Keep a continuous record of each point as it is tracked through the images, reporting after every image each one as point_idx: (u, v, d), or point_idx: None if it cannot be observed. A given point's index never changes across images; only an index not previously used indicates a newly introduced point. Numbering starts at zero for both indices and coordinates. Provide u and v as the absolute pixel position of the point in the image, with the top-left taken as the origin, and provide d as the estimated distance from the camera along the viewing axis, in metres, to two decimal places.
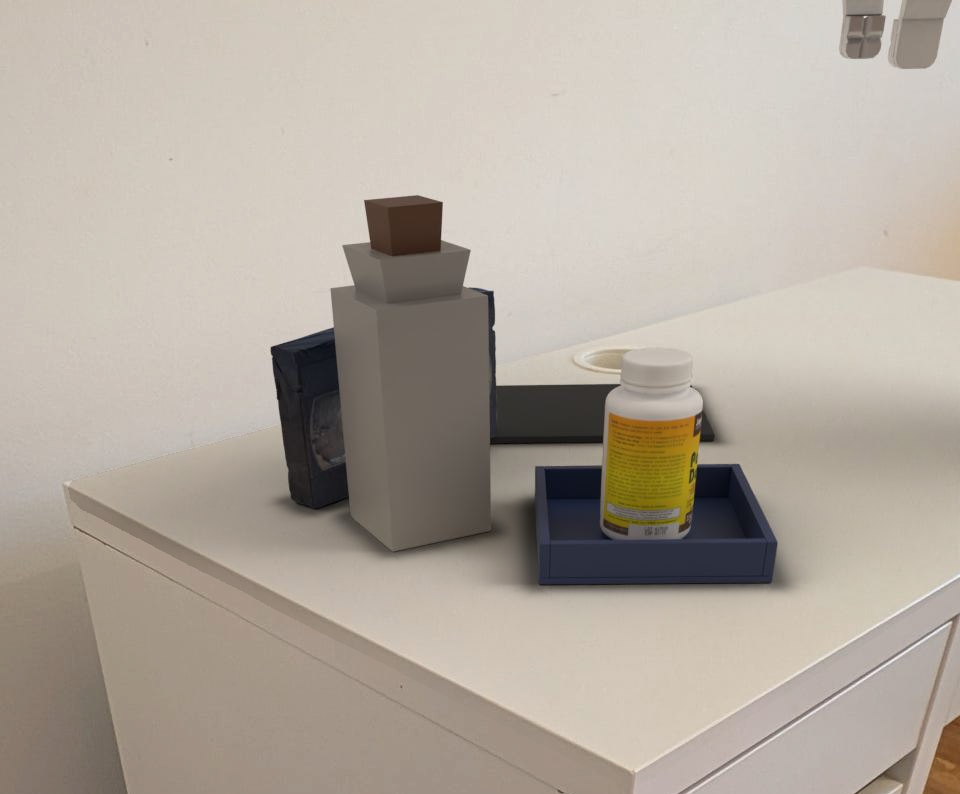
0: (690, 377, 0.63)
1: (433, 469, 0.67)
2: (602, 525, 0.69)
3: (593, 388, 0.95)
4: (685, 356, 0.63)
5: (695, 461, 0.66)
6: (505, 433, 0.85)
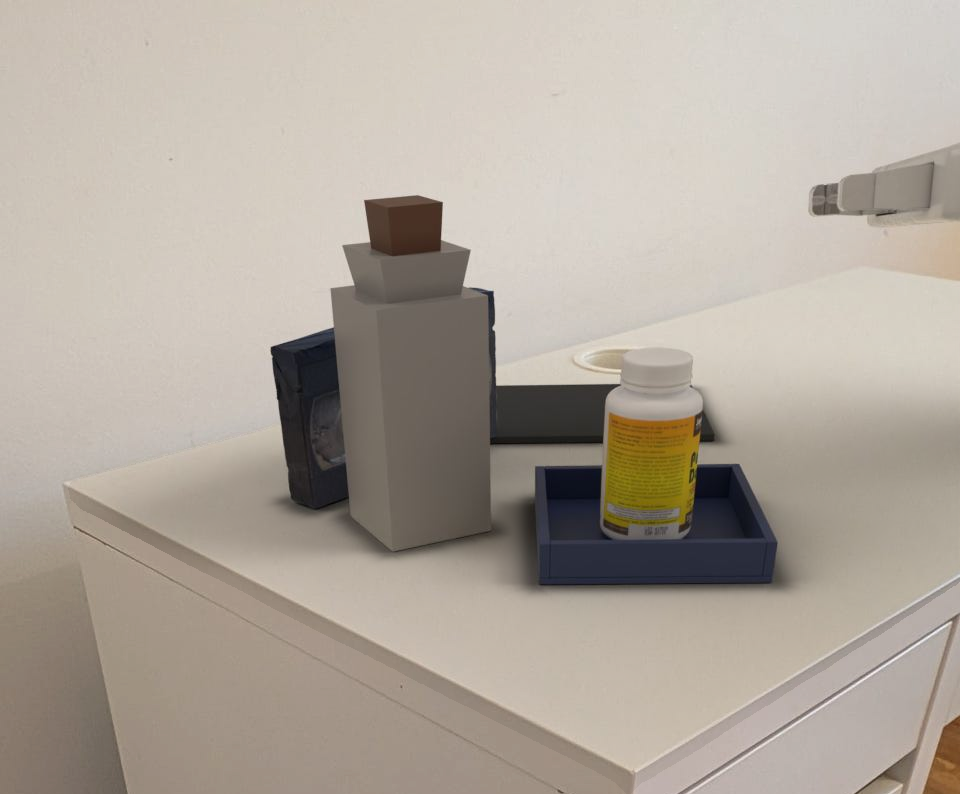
0: (690, 377, 0.63)
1: (433, 469, 0.67)
2: (602, 525, 0.69)
3: (593, 388, 0.95)
4: (685, 356, 0.63)
5: (695, 461, 0.66)
6: (505, 433, 0.85)
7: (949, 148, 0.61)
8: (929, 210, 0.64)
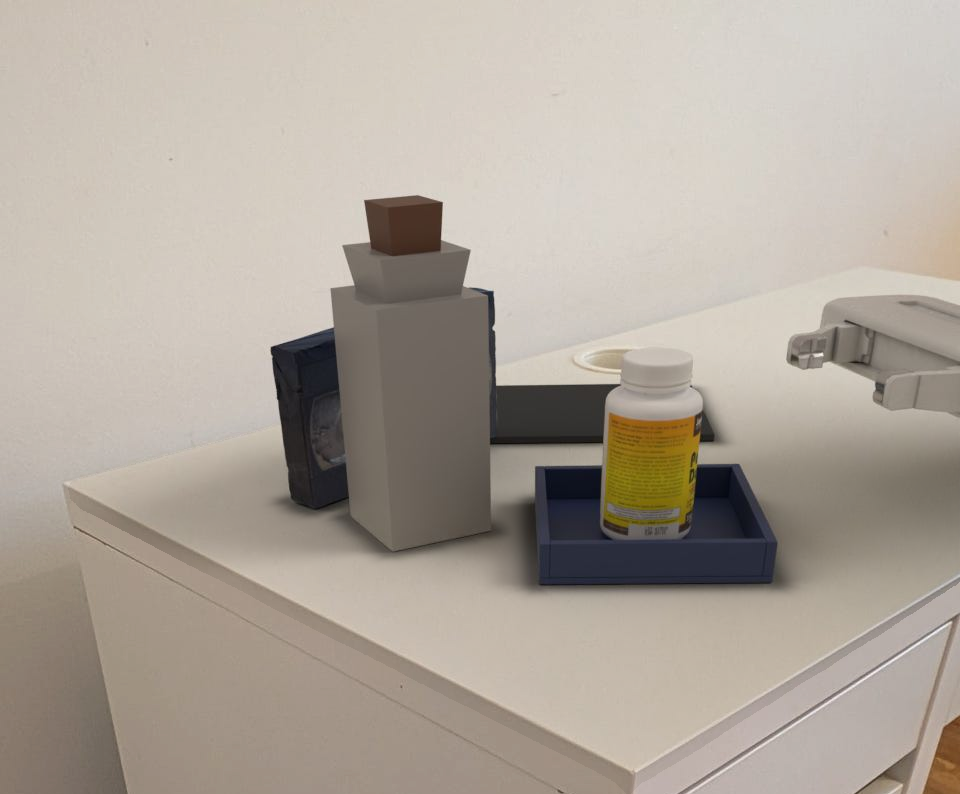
0: (690, 377, 0.63)
1: (433, 469, 0.67)
2: (602, 525, 0.69)
3: (593, 388, 0.95)
4: (685, 356, 0.63)
5: (695, 461, 0.66)
6: (505, 433, 0.85)
7: None
8: None
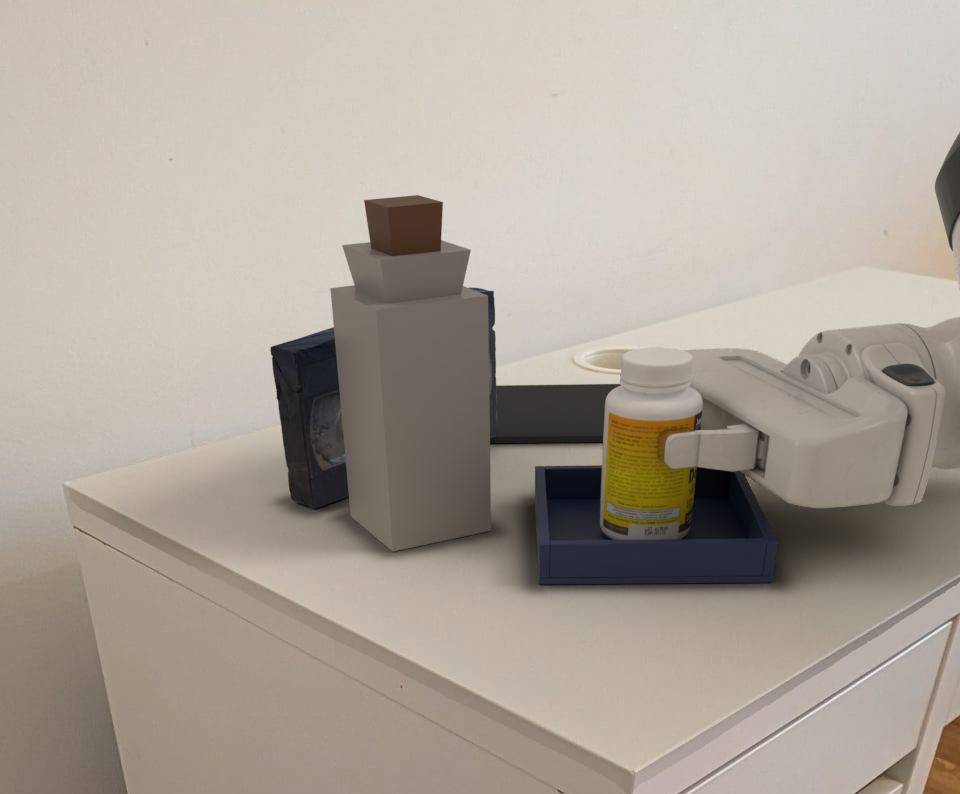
0: (690, 377, 0.63)
1: (433, 469, 0.67)
2: (602, 525, 0.69)
3: (593, 388, 0.95)
4: (685, 356, 0.63)
5: None
6: (505, 433, 0.85)
7: (795, 440, 0.59)
8: (763, 480, 0.62)
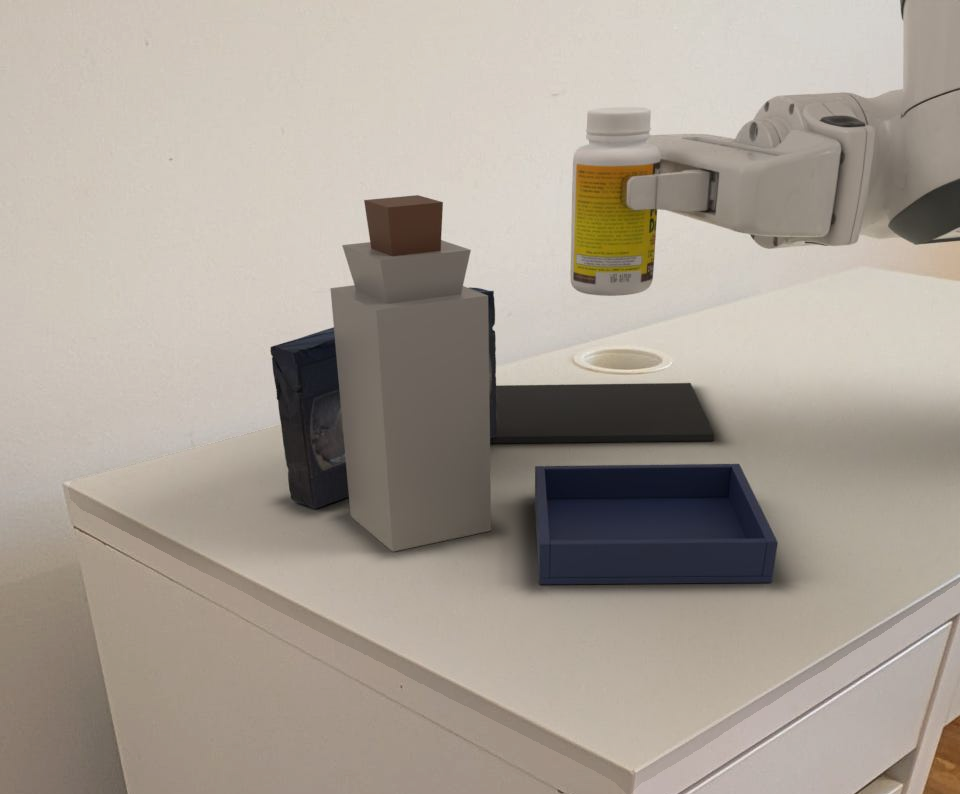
0: (648, 128, 0.71)
1: (433, 469, 0.67)
2: (572, 279, 0.76)
3: (593, 388, 0.95)
4: (643, 109, 0.71)
5: (654, 212, 0.73)
6: (505, 433, 0.85)
7: (740, 167, 0.66)
8: (714, 216, 0.70)
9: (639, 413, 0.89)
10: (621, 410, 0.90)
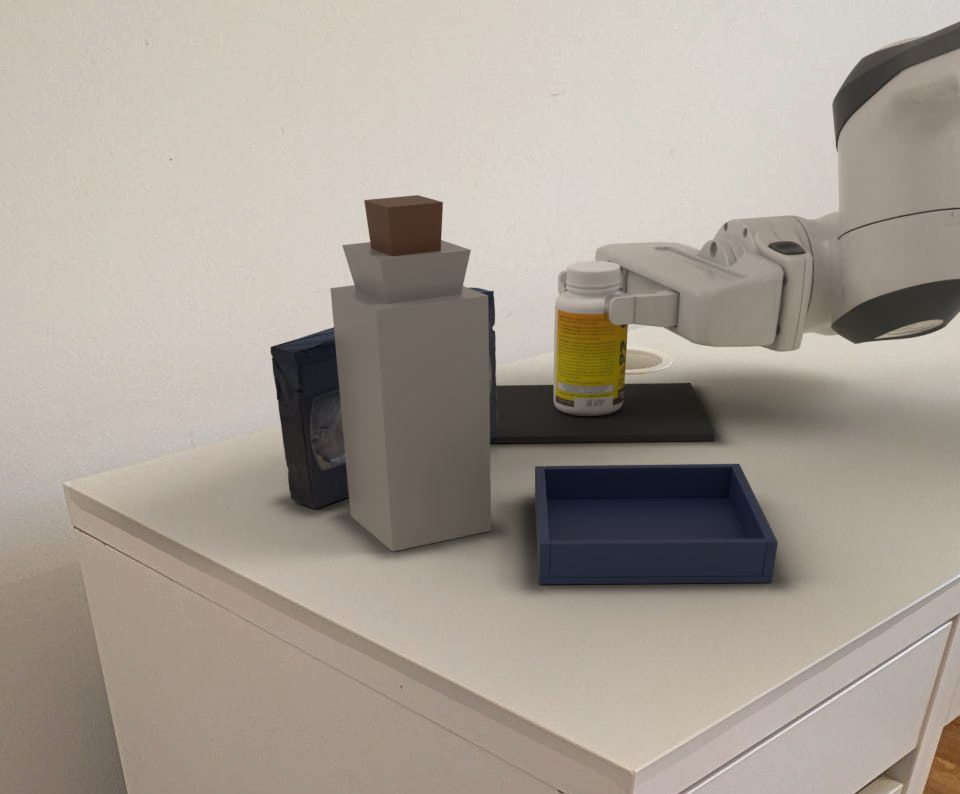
0: (618, 281, 0.84)
1: (433, 469, 0.67)
2: (555, 401, 0.89)
3: None
4: (614, 265, 0.84)
5: (624, 348, 0.86)
6: (505, 433, 0.85)
7: (696, 292, 0.79)
8: (676, 328, 0.82)
9: (639, 413, 0.89)
10: (621, 410, 0.90)
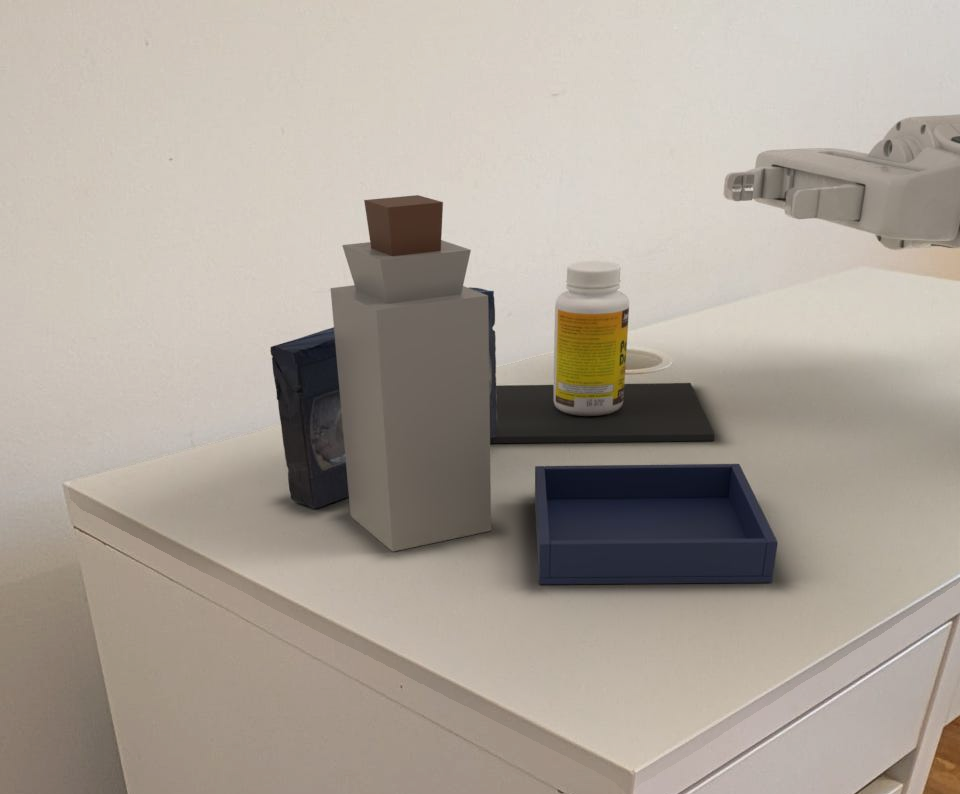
0: (618, 281, 0.84)
1: (433, 469, 0.67)
2: (555, 401, 0.89)
3: None
4: (614, 265, 0.84)
5: (624, 348, 0.86)
6: (505, 433, 0.85)
7: (887, 181, 0.78)
8: (859, 222, 0.81)
9: (639, 413, 0.89)
10: (621, 410, 0.90)
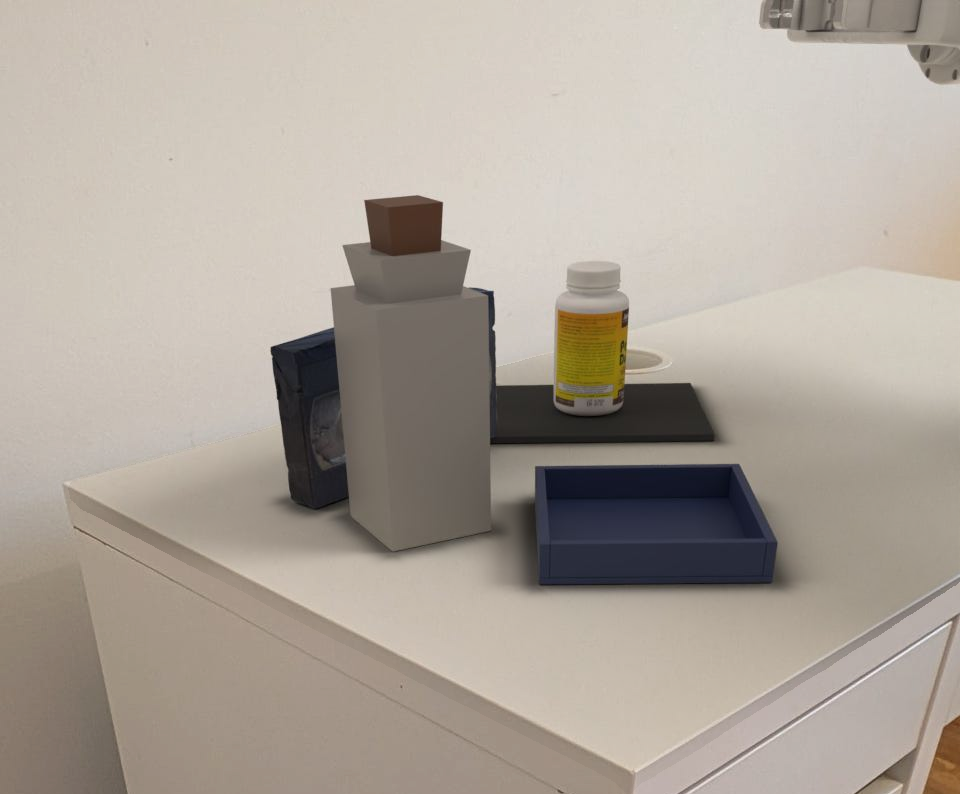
0: (618, 281, 0.84)
1: (433, 469, 0.67)
2: (555, 401, 0.89)
3: None
4: (614, 265, 0.84)
5: (624, 348, 0.86)
6: (505, 433, 0.85)
7: None
8: (915, 33, 0.74)
9: (639, 413, 0.89)
10: (621, 410, 0.90)
